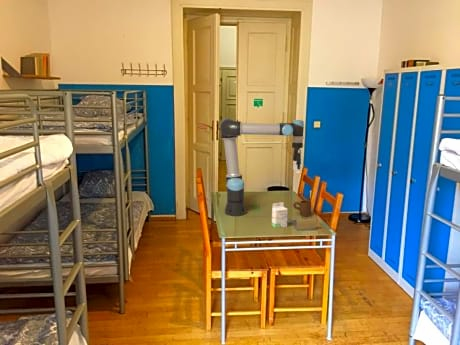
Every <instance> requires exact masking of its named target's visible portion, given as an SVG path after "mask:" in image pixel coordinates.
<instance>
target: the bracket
mask: <svg viewBox="0 0 460 345" xmlns="http://www.w3.org/2000/svg"><path fill="white" fill-rule="evenodd" d="M288 222H289V223H290V225H291V226H292V227H293V228H294V229H295V230H296V231H310V230H311V231H312V230H313V231H314V230H315V231H316V230H317V218H316V217H315V218H311V217H310V218H307V217H305V218H296V219H290V218H288Z"/></svg>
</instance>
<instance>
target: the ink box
mask: <svg viewBox="0 0 460 345" xmlns="http://www.w3.org/2000/svg"><path fill="white" fill-rule="evenodd" d="M284 205H285V203H284V202H276V203H275V202H274V203H272V210H271V227H273V228H274V229H281V228H287V226H288V212H289V210H288V208H287V207H285V206H284Z"/></svg>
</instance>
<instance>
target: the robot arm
mask: <svg viewBox="0 0 460 345" xmlns="http://www.w3.org/2000/svg"><path fill="white" fill-rule="evenodd" d="M304 123H305V122H304V120H303V119H301V120H300V119H294V120H292V122H276V123H256V122H255V123H254V122H249V123H247V122H242V121H239V120H238V121H237V120H234V119H233V118H230V117H229V118H227V117H226V118H223V119H222V120H221V121H220V123H219V131H220V137H221V140H222V141H223V147H224V153H225V154H224V156H225V162H226V172H227V174H226V175H225V179H226V205H225V208H224V214H225V215H227V216H232V217H233V216H234V217H238V216H239V217H240V216H245V215H246V214H247V207H246V204H245V181H244V180H243V174H242V173H241V172H240V167H239V155H238V148H237V147H238V146H237V138H238V137H239V136H242V135H253V136H255V135H260V136H285V137H289V136H291V135H292V136H291V138H292V139H291V140H292V141H291V142H292V143H291V148H293V154H292V155H293V156H292V160H293V162H292V163H293V164H292V170H293V171H295V174H301V165H302V155H301V153H302V152H301V151H302V150H301V149H302V148H303V147H304V143H303V142H304V139H305V138H304V128H305V124H304Z"/></svg>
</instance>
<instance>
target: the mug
mask: <svg viewBox="0 0 460 345" xmlns="http://www.w3.org/2000/svg"><path fill="white" fill-rule="evenodd" d="M296 205H298V206H296ZM292 206H293V208H294V209H296V210H298V211H299V215H300V216H301V217H305V218H307V217H311V216H312V202H311V201H310V200H301V201H300V202H298V201H295V202H294V203H293V205H292Z"/></svg>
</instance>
